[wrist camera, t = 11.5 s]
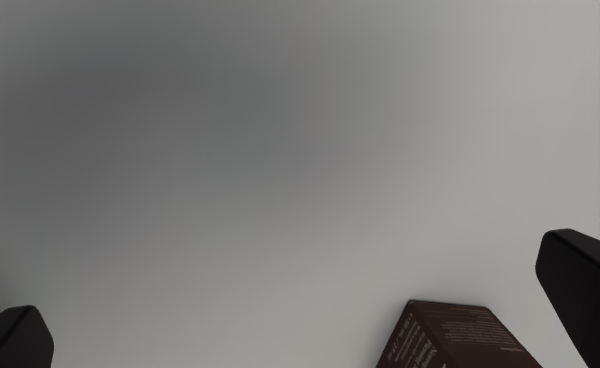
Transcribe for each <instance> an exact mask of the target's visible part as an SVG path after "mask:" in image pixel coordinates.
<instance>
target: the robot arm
mask: <svg viewBox="0 0 600 368" xmlns="http://www.w3.org/2000/svg"><path fill="white" fill-rule="evenodd" d="M535 270H536V275H537V278H538V280H539V282H540V284H541V286H542V287H543V289H544V291H545V293H546V295H547V297H548V298H549V300H550V302H551V304H552V306H553V308H554V309H555V311H556V313H557V315H558V317H559V319H560V320H561V322H562V324H563V326H564V328H565V330H566V331H567V333H568V335H569V337H570V339H571V340H572V342H573V344H574V346H575V347H576V349H577V351H578V352H579V354H580V355H581V357H582V358H583V360H584V362H585V363H586V365H587V366H588V368H600V240H598V239H595V238H593V237H590V236H588V235H585V234H583V233H580V232H578V231H575V230H572V229H567V228H566V229H558V230H551V231H548V232H546V233H545V234H544V235H543V238H542V241H541V245H540V249H539V253H538V257H537V261H536V265H535ZM53 352H54V342H53V338H52V336H51V334H50V332H49V330H48V328H47V326H46V324H45V322H44V320H43V318H42V316H41V314H40V312H39V310H38V309H37V308H36V307H35V306H32V305H26V306H19V307H12V308H8V309H6V310H4V311H3V312H1V313H0V368H51V363H52V358H53Z"/></svg>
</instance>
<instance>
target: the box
mask: <svg viewBox="0 0 600 368" xmlns="http://www.w3.org/2000/svg"><path fill="white" fill-rule="evenodd" d="M377 368H543V367H542V366H541V365H540V364H539V363H538V362H537V361H536V360H535V359H534V358H533V357H532V355H531V354H530V353H529V352H528V351H527V350H526V349H525V348H524V347H523V346H522V345H521V344H520V342H519V341H518V340H517V339H516V338H515V337H514V336H513V334H511V332H510V331H509V330H508V329H507V328H506V327H505V326H504V325H503V324H502V323H501V321H500V320H499V319H498V318H497V317H496V316H495V315H494V314H493V313H492V312H491V311H490V310H489V309H487V308H478V307H469V306H456V305H445V304H436V303H427V302H414V301H412V302H410V303H409V304H408V306H407V307H406V309H405V311H404V313H403V315H402V317H401V319H400V321H399V323H398V325H397V327H396V328H395V330H394V332H393V335H392V336H391V338H390V340H389V343H388V344H387V346H386V349H385V351H384V353H383V355H382V357H381V360H380V362H379V365H378V366H377Z"/></svg>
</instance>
